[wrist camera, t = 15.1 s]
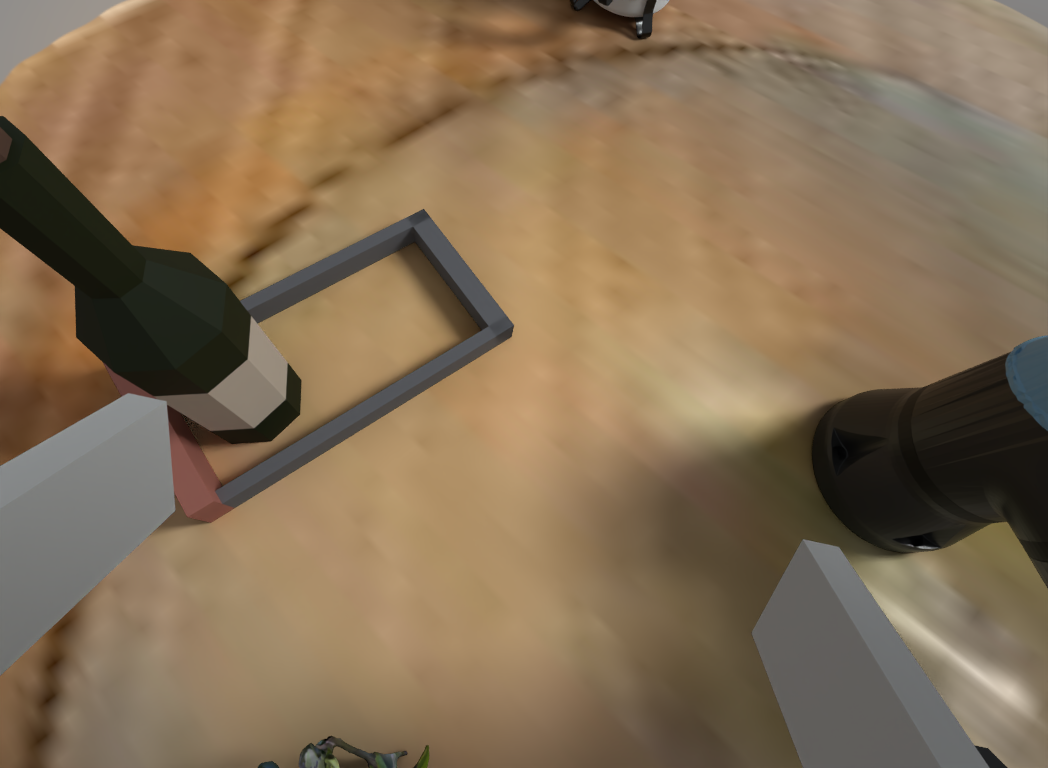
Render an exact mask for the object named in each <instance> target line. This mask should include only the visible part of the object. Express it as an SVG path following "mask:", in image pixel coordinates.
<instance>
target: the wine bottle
mask: <svg viewBox="0 0 1048 768" xmlns="http://www.w3.org/2000/svg"><path fill="white" fill-rule="evenodd" d="M0 228H1V229H2V230H3V231H4V232H6V233H7V234H8V235H10V236H11V237H12V238H14V239H15V240H16V241H17V242H19V243H20V244H21V245H23V246H24V247H25V248H27V249H28V250H29V251H30V252H32V253H33V254H34V255H36V256H37V257H38V258H39V259H41V260H42V261H43V262H45V263H46V264H47V265H49V266H50V267H51V268H52V269H54V270H55V271H56V272H58V273H59V274H60V275H62V276H63V277H64V278H65V279H67V280H68V281H69V282H71V283H72V284H73V285H74V286H75V310H76V338H78V339H79V340H80V341H81V342H82V343H83V344H84V345H85V346H86V347H87V348H88V349H89V350H90V351H92V352H93V353H94V354H95V355H96V356H97V357H98V358H99V359H100V360H101V361H102V362H103V363H104V364H105V365H107V366H108V367H109V368H110V369H111V370H112V371H113V372H114V373H116V374H117V375H119V376H121V377H122V378H124V379H126V380H127V381H129V382H131V383H132V384H134V385H136V386H137V387H139V388H141V389H142V390H144V391H145V392H147V393H149V394H150V395H152V396H154V397H155V398H157V399H159V400H163V401H167V405H169V406H170V407H172V408H173V409H175V410H177V411H178V412H180V413H182V414H183V415H185V416H187V417H188V418H190V419H192V420H193V421H195V422H197V423H198V424H200V425H201V426H203V427H205V428H206V429H208V430H210V431H211V432H213V433H215V434H216V435H218V436H220V437H221V438H223V439H225V440H226V441H228V442H229V443H231V444H237V443H252V442H267V441H272V440H273V439H274V438H275V437H276V436H277V435H279V434H280V433H281V432H282V431H283V430H284V429H285V428H286V427H287V426H288V425H289V424H290V423H291V422H292V421H293V420H295V419H296V418H297V417H298V416H299V415H300V402H301V379H300V378H299V377H298V375H297V374H296V373H295V371H294V370H293V369H292V368H291V366H290V365H289V364H288V362H287V361H286V360H285V359H284V357H283V356H282V355H281V353H280V352H279V351H278V350H277V348H276V347H275V346H274V344H273V343H272V342H271V341H270V339H269V338H268V337H267V335H266V334H265V333H264V332H263V330H262V329H261V328H260V326H259V325H258V324H257V323H256V321H255V320H254V319H253V317H252V316H251V315H250V314H249V312H248V311H247V310H246V308H245V307H244V306H243V305H242V303H241V302H240V301H239V299H238V298H237V297H236V296H235V294H234V293H233V292H232V290H231V289H230V288H229V287H228V285H227V284H226V283H225V282H224V281H222V280H221V279H220V278H219V277H218V276H217V275H215V274H214V273H213V272H212V271H211V270H210V269H208V268H207V267H206V266H205V265H204V264H203V263H201V262H200V261H199V260H198V259H197V258H196V257H194V256H193V255H192V254H191V253H187V252H179V251H171V250H164V249H156V248H148V247H141V246H133V245H131V244H130V243H129V242H128V241H127V240H126V238H125V237H124V236H123V235H122V234H121V233H120V232H119V231H118V230H117V229H116V228H115V227H114V226H113V225H112V224H111V223H110V222H109V221H108V220H107V219H106V218H105V217H104V216H103V215H102V214H101V213H100V212H99V211H98V210H97V209H96V208H95V207H94V205H93V204H92V203H91V202H90V201H89V200H88V199H87V198H86V197H85V196H84V195H83V194H82V193H81V192H80V191H79V190H78V189H77V188H76V187H75V186H74V185H73V184H72V183H71V182H70V181H69V180H68V179H67V178H66V177H65V176H64V175H63V174H62V172H61V171H60V170H59V169H58V168H57V167H56V166H55V165H54V164H53V163H52V162H51V161H50V160H49V159H48V158H47V157H46V156H45V155H44V154H43V153H42V152H41V151H40V150H39V149H38V148H37V147H36V146H35V145H34V144H33V143H32V142H31V140H30V139H29V138H28V137H27V136H26V135H24V134H23V133H22V132H21V131H20V130H19V129H18V128H16V127H15V126H14V125H13V124H12V123H11V122H10V121H8V120H7V119H6V118H5V117H4V116H0Z"/></svg>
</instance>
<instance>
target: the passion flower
mask: <svg viewBox="0 0 1048 768" xmlns="http://www.w3.org/2000/svg"><path fill="white" fill-rule="evenodd" d="M335 746H338V747H341V748H343V749H344V750H346V751H348V752H349V753H353V754H355V755H357V756H359V757H361V758H364V759H365V760H366V761H367V763H368V767H369V768H397V759H398V758H399V757H400V756H404V755H407V752H406V751H403V752H396V753H392V754H381V753H377V752H374V753H367V752H365V751H362V750H361V749H357V748H355V747H353V746H351V745H349V744H347V743H345V742H344V741H343V740H341V739H340V738H335V737H333V736H329V737H328V738H327V739H323V740H321V741H320V742H319V743H318V744H317V745H316V746H314V745H313V744H312V743H310V744H309V745H307V746H306V747H305V748H304V749H303V750H302V752H301V754H300V760H299V767H300V768H340V767H339V763H338V761H337V759H336V758H335V757H334V756H333V755H332V752H333V748H334V747H335ZM428 761H429V745H426V747H425V750H424V752H423V753H422V755H421V757H420V759H419V761H418V762H417V764H416V765H415V766H414V768H427V766H428ZM258 768H279V766H278V765H277V764H276V763H274V762H273V761H270V762H264V763H261V764H260V765H259V766H258Z"/></svg>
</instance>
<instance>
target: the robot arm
mask: <svg viewBox="0 0 1048 768" xmlns="http://www.w3.org/2000/svg"><path fill="white" fill-rule="evenodd" d="M812 459H813V467H814V472H815V476H816V479H817V482H818V485H819V487H820V490H821V492H822V494H823V496H824V498H825V500H826V501H827V503H828V505H829V506H830V508H831V509H832V510H833V512H834V513H835V514H836V516H837V517H838V518H839V519H840V520H841V521H842V522H843V523H844V524H845V525H846V526H847V527H848V528H849V529H850V530H851V531H853V532H854V533H855V534H857V535H858V536H859V537H861V538H862V539H864V540H866V541H867V542H869V543H871V544H873V545H875V546H878V547H880V548H883V549H886V550H890V551H895V552H924V551H934V550H938V549H942V548H945V547H948V546H951V545H953V544H955V543H956V542H958V541H960V540H962V539H964V538H966V537H967V536H969V535H971V534H973V533H975V532H977V531H978V530H980V529H982V528H984V527H986V526H987V525H989V524H991V523H998V522H1008V524H1009V525H1010V527H1011V528H1012V530H1013V532H1014V533H1015V535H1016V536H1017V538H1018V539H1019V541H1020V543H1021V544H1022V546H1023V548H1024V549H1025V551H1026V552H1027V554H1028V556H1029V558H1030V559H1031V561H1032V563H1033V565H1034V566H1035V568H1036V570H1037V571H1038V573H1039V575H1040V576H1041V578H1042V580H1043V581H1044V583H1045V585H1046V586H1047V588H1048V336H1041V337H1037V338H1033V339H1030V340H1028V341H1026V342H1023V343H1022V344H1020V345H1018V346H1016V347H1015V348H1014V350H1013V351H1012V352H1009V353H1007V354H1004V355H1002V356H999V357H997V358H994V359H992V360H989V361H987V362H984V363H982V364H979V365H977V366H974V367H972V368H969V369H967V370H964V371H962V372H959V373H957V374H954V375H952V376H949V377H947V378H944V379H942V380H939V381H937V382H935V383H933V384H930V385H928V386H925V387H923V388H900V389H878V390H871V391H866V392H863V393H859V394H857V395H854V396H852V397H850V398H848V399H846V400H844V401H842V402H840V403H838V404H836V405H835V406H833V407H832V408H831V409H830V410H829V411H828V412H827V413H826V414H825V415H824V417H823V418H822V419H821V421H820V423H819V425H818V427H817V429H816V432H815V436H814V440H813V447H812ZM174 512H175V499H174V487H173V475H172V462H171V450H170V437H169V425H168V413H167V401H163V400H158V399H153V398H149V397H144V396H139V395H135V394H130V393H128V394H126V395H124V396H122V397H121V398H119V399H117V400H115V401H114V402H112V403H110V404H108V405H107V406H105V407H103V408H101V409H100V410H98V411H96V412H94V413H93V414H91V415H89V416H87V417H86V418H84V419H82V420H80V421H79V422H77V423H75V424H73V425H72V426H70V427H68V428H66V429H64V430H63V431H61V432H59V433H57V434H56V435H54V436H52V437H50V438H49V439H47V440H45V441H43V442H42V443H40V444H38V445H36V446H35V447H33V448H31V449H29V450H28V451H26V452H24V453H22V454H21V455H19V456H17V457H15V458H14V459H12V460H10V461H8V462H7V463H5V464H3V465H1V466H0V675H2V674H3V673H4V672H5V671H6V670H7V669H8V668H9V667H10V666H11V665H12V664H13V663H14V662H15V661H16V660H17V659H19V658H20V657H21V656H22V655H23V654H24V653H25V652H26V651H27V650H28V649H29V648H30V647H31V646H32V645H33V644H34V643H36V642H37V641H38V640H39V639H40V638H41V637H42V636H43V635H44V634H45V633H46V632H47V631H48V630H49V629H50V628H51V627H53V626H54V625H55V624H56V623H57V622H58V621H59V620H60V619H61V618H62V617H63V616H64V615H65V614H66V613H67V612H68V611H69V610H71V609H72V608H73V607H74V606H75V605H76V604H77V603H78V602H79V601H80V600H81V599H82V598H83V597H84V596H85V595H86V594H88V593H89V592H90V591H91V590H92V589H93V588H94V587H95V586H96V585H97V584H98V583H99V582H100V581H101V580H102V579H103V578H105V577H106V576H107V575H108V574H109V573H110V572H111V571H112V570H113V569H114V568H115V567H116V566H117V565H118V564H119V563H120V562H122V561H123V560H124V559H125V558H126V557H127V556H128V555H129V554H130V553H131V552H132V551H133V550H134V549H135V548H136V547H137V546H139V545H140V544H141V543H142V542H143V541H144V540H145V539H146V538H147V537H148V536H149V535H150V534H151V533H152V532H153V531H154V530H156V529H157V528H158V527H159V526H160V525H161V524H162V523H163V522H164V521H165V520H166V519H167V518H168V517H169V516H170V515H171V514H173V513H174ZM752 636H753V638H754V641H755V644H756V646H757V649H758V651H759V654H760V657H761V659H762V662H763V664H764V667H765V670H766V672H767V675H768V678H769V680H770V683H771V685H772V688H773V691H774V693H775V696H776V698H777V701H778V704H779V706H780V709H781V711H782V714H783V717H784V719H785V722H786V724H787V727H788V730H789V732H790V735H791V738H792V740H793V743H794V745H795V748H796V751H797V753H798V756H799V758H800V761H801V764H802V766H803V768H1007V767H1006V766H1005V765H1004V764H1003V763H1002V762H1001V761H1000V760H999V759H998V758H997V757H996V756H995V755H994V754H993V753H992V752H991V751H990V750H989V749H988V748H984V747H979V746H974V744H973V743H972V741H971V740H970V738H969V737H968V736H967V734H966V733H965V731H964V730H963V728H962V727H961V725H960V724H959V722H958V721H957V719H956V718H955V717H954V715H953V714H952V712H951V711H950V709H949V708H948V706H947V705H946V703H945V702H944V700H943V699H942V697H941V696H940V695H939V693H938V692H937V690H936V689H935V687H934V686H933V684H932V683H931V681H930V680H929V678H928V677H927V675H926V674H925V673H924V671H923V670H922V668H921V667H920V665H919V664H918V662H917V661H916V659H915V658H914V656H913V655H912V654H911V652H910V651H909V649H908V648H907V646H906V645H905V643H904V642H903V640H902V639H901V637H900V636H899V634H898V633H897V632H896V630H895V629H894V627H893V626H892V624H891V623H890V621H889V620H888V618H887V617H886V615H885V614H884V612H883V611H882V610H881V608H880V607H879V605H878V604H877V602H876V601H875V599H874V598H873V596H872V595H871V593H870V592H869V591H868V589H867V588H866V586H865V585H864V583H863V582H862V580H861V579H860V577H859V576H858V574H857V573H856V571H855V570H854V569H853V567H852V566H851V564H850V563H849V561H848V560H847V558H846V557H845V555H844V554H843V552H842V551H841V549H840V548H839V547H837V546H832V545H828V544H823V543H818V542H814V541H809V540H805V539H802V541H801V543H800V545H799V547H798V549H797V550H796V552H795V554H794V556H793V558H792V560H791V561H790V563H789V565H788V567H787V569H786V571H785V572H784V574H783V576H782V578H781V580H780V581H779V583H778V585H777V587H776V589H775V591H774V592H773V594H772V596H771V598H770V600H769V602H768V603H767V605H766V607H765V609H764V611H763V612H762V614H761V616H760V618H759V620H758V622H757V623H756V625H755V627H754V629H753V631H752Z"/></svg>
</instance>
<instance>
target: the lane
mask: <svg viewBox="0 0 1048 768" xmlns="http://www.w3.org/2000/svg"><path fill="white" fill-rule="evenodd" d="M413 242H416V244H417V245H418V246H419V248H420V249H421V250H422V252H423V253H424V254H425V256H426V257H427V258H428V260H429V261H430V262H431V264H432V265H433V266H434V268H435V269H436V270H437V272H438V273H439V274H440V276H441V277H442V278H443V280H444V281H445V282H446V284H447V285H448V286H449V287H450V289H451V290H452V291H453V293H454V294H455V295H456V297H457V298H458V299H459V301H460V302H461V303H462V305H463V306H464V307H465V309H466V310H467V311H468V313H469V314H470V315H471V317H472V318H473V319H474V321H475V322H476V323H477V325H478V326H479V327H480V329H481V330H482V331H480V332H478V333H477V334H475V335H473V336H472V337H470V338H468V339H467V340H465V341H463V342H462V343H460V344H459V345H457V346H455V347H454V348H452V349H450V350H449V351H447V352H445V353H444V354H442V355H440V356H439V357H437V358H435V359H434V360H432V361H430V362H429V363H427V364H425V365H424V366H422V367H420V368H419V369H417V370H415V371H414V372H412V373H410V374H409V375H407V376H405V377H404V378H402V379H400V380H399V381H397V382H395V383H394V384H392V385H390V386H389V387H387V388H385V389H384V390H382V391H380V392H379V393H377V394H375V395H374V396H372V397H370V398H369V399H367V400H365V401H364V402H362V403H360V404H359V405H357V406H355V407H354V408H352V409H350V410H349V411H347V412H346V413H344V414H342V415H341V416H339V417H337V418H336V419H334V420H332V421H331V422H329V423H327V424H326V425H324V426H322V427H321V428H319V429H317V430H316V431H314V432H312V433H311V434H309V435H307V436H306V437H304V438H302V439H301V440H299V441H297V442H296V443H294V444H292V445H291V446H289V447H287V448H286V449H284V450H282V451H281V452H279V453H277V454H276V455H274V456H272V457H271V458H269V459H267V460H266V461H264V462H262V463H261V464H259V465H257V466H256V467H254V468H252V469H251V470H249V471H247V472H246V473H244V474H242V475H241V476H239V477H238V478H236V479H234V480H233V481H231V482H229V483H228V484H226V485H224V486H223V487H222V485H221V483H220V481H219V480H218V478H217V476H216V474H215V473H214V471H213V469H212V467H211V466H210V464H209V462H208V460H207V459H206V457H205V455H204V453H203V452H202V450H201V448H200V446H199V445H198V443H197V441H196V439H195V438H194V436H193V434H192V432H191V431H190V429H189V427H188V425H187V424H186V422H185V420H184V418H183V417H182V415H181V413H180V412H178V411H177V410H175V409H173V408H172V407H170V406H169V405H167V413H168V425H169V437H170V450H171V462H172V475H173V487H174V493H175V495H176V497H177V499H178V501H179V502H180V504H181V506H182V508H183V510H184V512H185V513H186V515H187V517H189V518H193V519H197V520H202V521H206V522H210V523H211V522H213V521H214V520H216V519H218V518H219V517H221V516H223V515H224V514H226V513H227V512H229V511H231V510H232V509H234V508H235V507H237V506H239V505H240V504H242V503H244V502H245V501H247V500H248V499H250V498H252V497H253V496H255V495H257V494H258V493H260V492H261V491H263V490H265V489H266V488H268V487H269V486H271V485H273V484H274V483H276V482H278V481H279V480H281V479H282V478H284V477H286V476H287V475H289V474H290V473H292V472H294V471H295V470H297V469H299V468H300V467H302V466H303V465H305V464H307V463H308V462H310V461H312V460H313V459H315V458H316V457H318V456H320V455H321V454H323V453H324V452H326V451H328V450H329V449H331V448H333V447H334V446H336V445H337V444H339V443H341V442H342V441H344V440H345V439H347V438H349V437H350V436H352V435H354V434H355V433H357V432H358V431H360V430H362V429H363V428H365V427H366V426H368V425H370V424H371V423H373V422H375V421H376V420H378V419H379V418H381V417H383V416H384V415H386V414H388V413H389V412H391V411H392V410H394V409H396V408H397V407H399V406H400V405H402V404H404V403H405V402H407V401H409V400H410V399H412V398H413V397H415V396H417V395H418V394H420V393H421V392H423V391H425V390H426V389H428V388H430V387H431V386H433V385H434V384H436V383H438V382H439V381H441V380H443V379H444V378H446V377H447V376H449V375H451V374H452V373H454V372H455V371H457V370H459V369H460V368H462V367H464V366H465V365H467V364H468V363H470V362H472V361H473V360H475V359H476V358H478V357H480V356H481V355H483V354H485V353H486V352H488V351H489V350H491V349H493V348H494V347H496V346H498V345H499V344H501V343H502V342H504V341H506V340H507V339H509V338H510V337H512V332H513V328H514V325H513V323H512V322H511V321H510V320H509V318H508V317H507V316H506V314H505V313H504V312H503V310H502V309H501V308H500V307H499V305H498V304H497V303H496V301H495V300H494V299H493V298H492V296H491V295H490V294H489V292H488V291H487V290H486V289H485V287H484V286H483V285H482V283H481V282H480V281H479V279H478V278H477V277H476V276H475V274H474V273H473V272H472V270H471V269H470V268H469V267H468V265H467V264H466V263H465V261H464V260H463V259H462V258H461V256H460V255H459V254H458V252H457V251H456V250H455V248H454V247H453V246H452V245H451V243H450V242H449V241H448V239H447V238H446V237H445V236H444V234H443V233H442V232H441V230H440V229H439V228H438V227H437V225H436V224H435V223H434V221H433V220H432V219H431V218H430V216H429V215H428V214H427V212H426V211H425V210H424V209H423V210H421V211H419V212H417V213H415V214H413V215H411V216H409V217H407V218H405V219H403V220H401V221H399V222H397V223H395V224H393V225H391V226H389V227H387V228H385V229H383V230H381V231H379V232H377V233H375V234H373V235H371V236H369V237H367V238H365V239H363V240H361V241H359V242H357V243H355V244H353V245H351V246H349V247H347V248H345V249H343V250H341V251H339V252H337V253H335V254H333V255H331V256H329V257H327V258H325V259H323V260H321V261H319V262H317V263H315V264H313V265H311V266H309V267H307V268H305V269H303V270H301V271H299V272H297V273H295V274H293V275H291V276H289V277H287V278H285V279H283V280H281V281H279V282H277V283H275V284H273V285H271V286H269V287H267V288H265V289H263V290H261V291H259V292H257V293H255V294H253V295H251V296H249V297H247V298H245V299H243V300H241V301H240V302H241V303H242V305H243V306H244V307H245V308H246V310H247V311H248V312H249V314H250V315H251V316H252V317H253V319H254V320H255V321H256V323H259V322H261V321H263V320H265V319H267V318H269V317H271V316H273V315H275V314H277V313H279V312H281V311H283V310H284V309H286V308H288V307H290V306H292V305H294V304H296V303H298V302H300V301H302V300H304V299H306V298H308V297H309V296H311V295H313V294H315V293H317V292H319V291H321V290H323V289H325V288H327V287H329V286H331V285H333V284H334V283H336V282H338V281H340V280H342V279H344V278H346V277H348V276H350V275H352V274H354V273H356V272H358V271H360V270H361V269H363V268H365V267H367V266H369V265H371V264H373V263H375V262H377V261H379V260H381V259H383V258H385V257H386V256H388V255H390V254H392V253H394V252H396V251H398V250H400V249H402V248H404V247H406V246H408V245H410V244H412V243H413ZM104 365H105V364H104ZM105 367H106V369H107V371H108V373H109V374H110V376H111V378H112V380H113V382H114V384H115V385H116V387H117V389H118V391H119V393H120V395H121V396H124V395H126V394H128V393H130V394H135V395H139V396H144V397H149V398H153V399H157V398H155V397H154V396H152V395H150V394H149V393H147V392H145V391H144V390H142V389H141V388H139V387H137V386H136V385H134V384H132V383H131V382H129V381H127V380H126V379H124V378H122V377H121V376H119V375H117V374H116V373H114V372H113V371H112V370H111V369H110V368H109V367H108V366H107V365H105ZM158 400H159V399H158Z"/></svg>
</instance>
